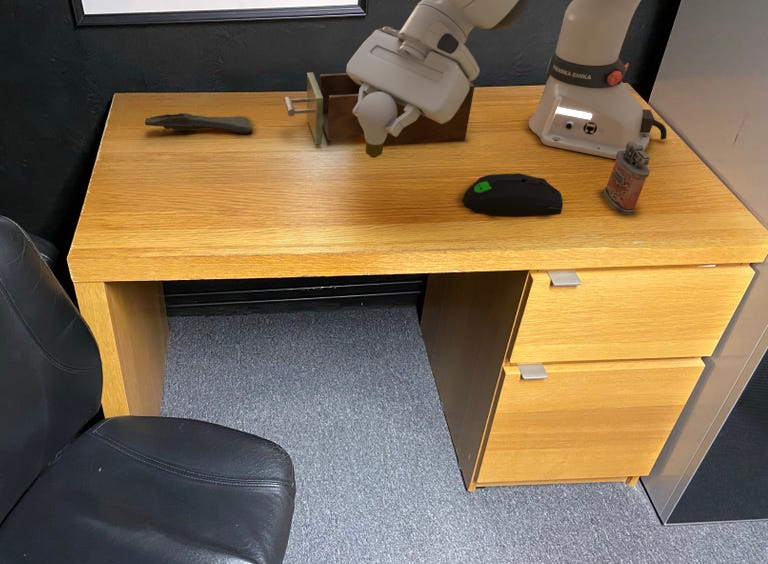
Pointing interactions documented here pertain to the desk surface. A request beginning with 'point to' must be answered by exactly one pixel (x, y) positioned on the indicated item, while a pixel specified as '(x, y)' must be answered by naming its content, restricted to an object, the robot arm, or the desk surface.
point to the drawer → (330, 107)
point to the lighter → (627, 179)
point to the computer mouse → (513, 196)
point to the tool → (200, 122)
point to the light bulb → (376, 120)
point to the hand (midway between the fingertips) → (373, 124)
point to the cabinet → (434, 126)
